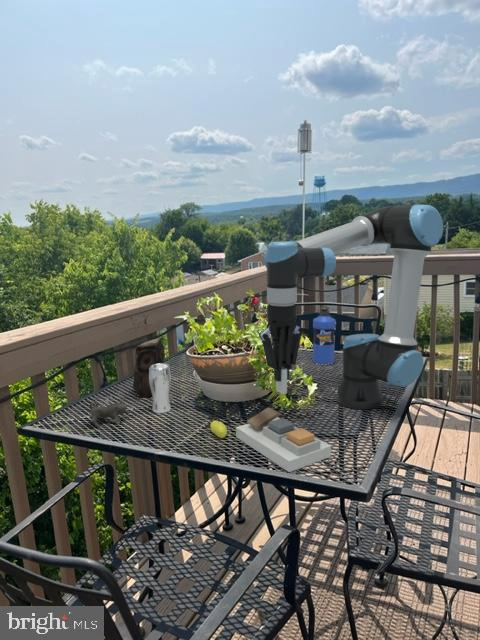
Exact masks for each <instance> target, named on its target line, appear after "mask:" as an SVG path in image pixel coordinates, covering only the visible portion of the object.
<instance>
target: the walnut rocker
mask: <svg viewBox="0 0 480 640" xmlns="http://www.w3.org/2000/svg"><path fill="white" fill-rule="evenodd" d="M280 416H281V414H280V412H279V411H277V410H275V409H273V408H271V407H266V408H265V409H263V410H262V411H260V412H258V413H257V414H255V415H254V416H252V417H251V418H249V419H247V420H246V422H247V424H250V425H251V426H253V427H255V428H256V429H260V428H261V427H263V426H265V425H266V424H268V422H271V421H272V420H274V419H275V418H277V417H278V418H279V417H280Z"/></svg>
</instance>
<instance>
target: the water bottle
mask: <svg viewBox="0 0 480 640" xmlns="http://www.w3.org/2000/svg"><path fill="white" fill-rule="evenodd" d="M329 309H330V308H329V306H328V305H322V306H321V307H320V308H319V312H318V313H319V316H317V317H315V318H313V321H312V328H313V334H314V335H313V336H314V337H313V343H312V345H313V347H312V363H313V362H314V363H318V364H328V363H332V362H334V363H335V337H334V335H335V330H336V319H335V318H333V317H331V316H330V313H331V312H330V310H329ZM314 363H313V364H314Z"/></svg>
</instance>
